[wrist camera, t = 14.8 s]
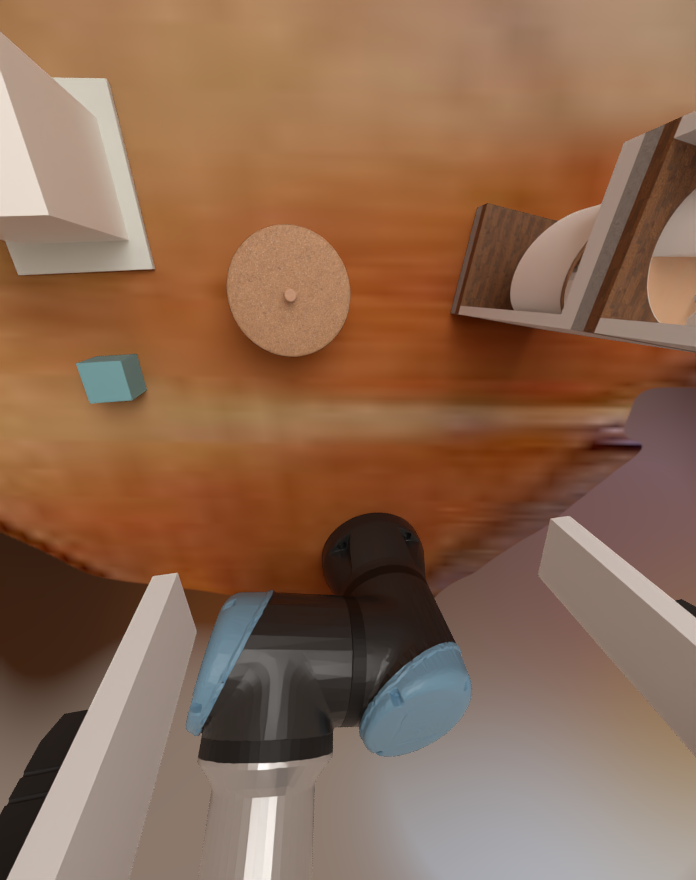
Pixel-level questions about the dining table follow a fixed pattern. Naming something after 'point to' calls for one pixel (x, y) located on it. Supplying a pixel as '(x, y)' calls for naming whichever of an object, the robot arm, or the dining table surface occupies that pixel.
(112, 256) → the mat
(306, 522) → the dining table surface
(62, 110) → the white block
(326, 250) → the lidded jar
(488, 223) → the display case
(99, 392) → the teal block
